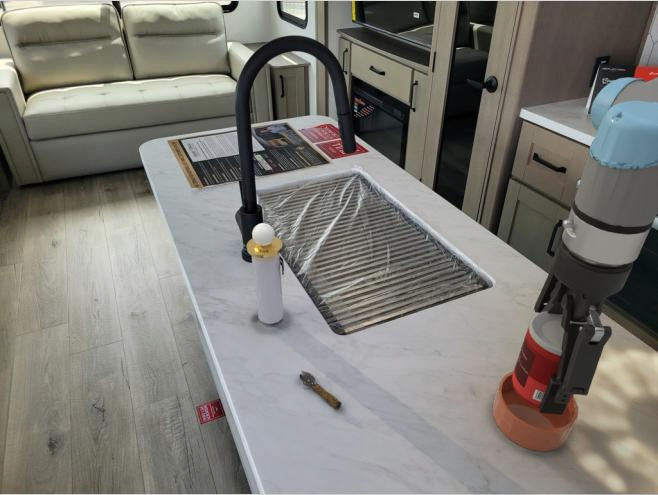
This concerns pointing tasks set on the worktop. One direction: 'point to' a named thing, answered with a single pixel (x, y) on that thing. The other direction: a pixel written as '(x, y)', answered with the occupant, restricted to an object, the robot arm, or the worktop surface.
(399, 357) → the worktop surface
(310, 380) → the can opener
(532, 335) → the canned food
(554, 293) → the robot arm
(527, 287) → the worktop surface
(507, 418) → the bowl
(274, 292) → the perfume bottle
